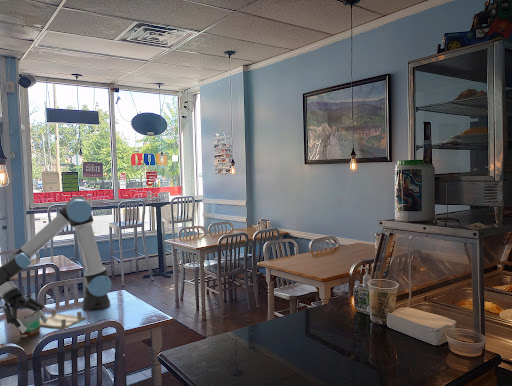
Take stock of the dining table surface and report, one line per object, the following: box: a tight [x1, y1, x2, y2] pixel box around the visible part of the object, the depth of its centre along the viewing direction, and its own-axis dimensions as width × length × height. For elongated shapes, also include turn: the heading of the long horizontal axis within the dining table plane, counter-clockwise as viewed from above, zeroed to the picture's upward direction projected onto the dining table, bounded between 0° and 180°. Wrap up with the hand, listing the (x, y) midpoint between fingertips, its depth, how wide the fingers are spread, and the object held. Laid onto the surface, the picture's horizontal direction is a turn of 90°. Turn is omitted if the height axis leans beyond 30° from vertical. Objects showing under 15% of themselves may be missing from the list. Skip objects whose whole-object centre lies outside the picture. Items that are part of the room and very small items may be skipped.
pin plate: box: [40, 308, 86, 330], centre depth 211 cm, size 15×21×4 cm
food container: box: [18, 310, 41, 339], centre depth 194 cm, size 12×6×10 cm, turn 169°
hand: (35, 326), depth 193 cm, fingers closed on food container, 12 cm apart
